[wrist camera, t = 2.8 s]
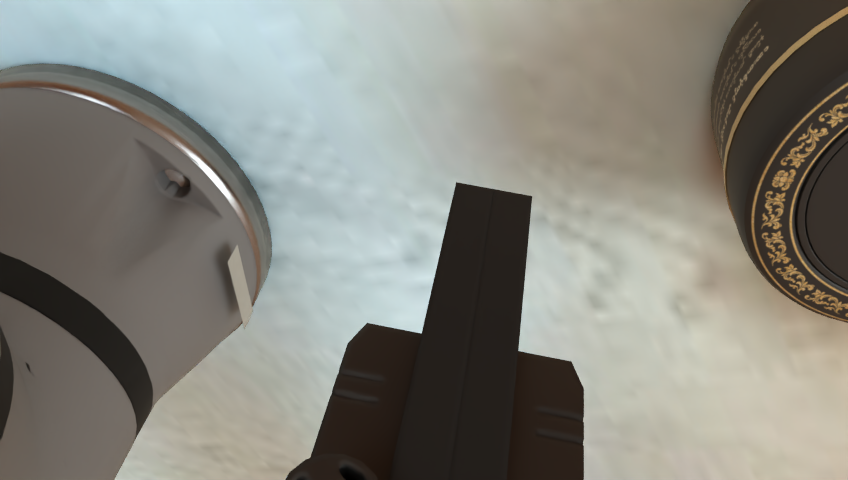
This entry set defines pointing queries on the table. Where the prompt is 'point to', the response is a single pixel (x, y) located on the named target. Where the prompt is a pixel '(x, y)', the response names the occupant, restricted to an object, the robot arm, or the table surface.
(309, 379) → the table surface
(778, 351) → the table surface
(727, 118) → the jar
